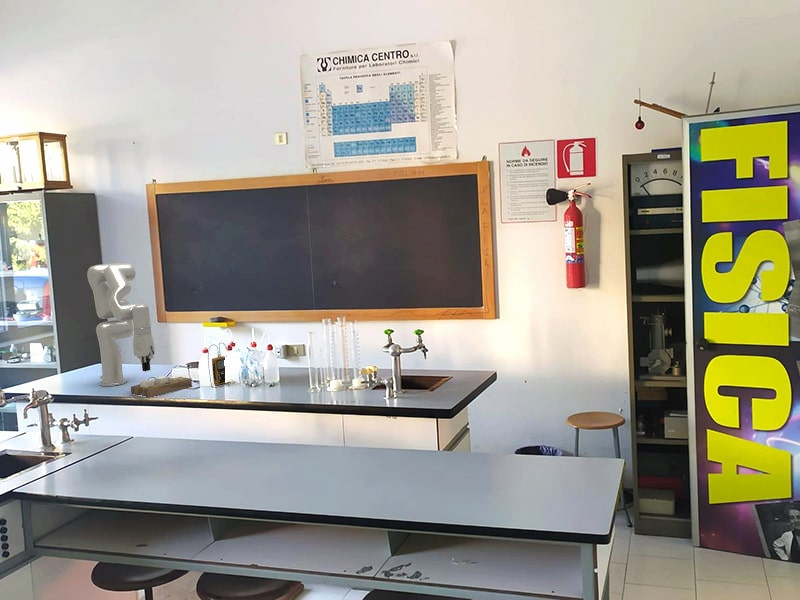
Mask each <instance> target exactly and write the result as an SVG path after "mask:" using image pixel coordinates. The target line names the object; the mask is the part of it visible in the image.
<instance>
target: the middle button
mask: <svg viewBox="0 0 800 600" xmlns="http://www.w3.org/2000/svg"><path fill="white" fill-rule="evenodd" d="M168 377H169V376H163V375H161V376H157V377H154V378H153V380H154V381H155V383H157V384H163V383H166V382H168Z"/></svg>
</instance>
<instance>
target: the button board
mask: <svg viewBox="0 0 800 600" xmlns="http://www.w3.org/2000/svg"><path fill="white" fill-rule="evenodd" d="M172 376H173V375H171V376H170V377H172ZM192 387H193V382H192V378H190V377H183V376H182V379H178V380H169V379H168V382H166V383H163V384H157V383H155V381H154V386H151V387H147V388H145V387H140V383H139V384H136V385H135V384H134V385H132V386H130V394H135V395H142V396H146V397H145V398H148V397H152V398H155V397H154V396H156V397H159V396H163V395H166V393H167V394H170V393H174V392H177V390H178V391H181V390H185V389H188V388H192ZM184 388H185V389H184ZM180 389H181V390H180ZM173 391H174V392H173ZM169 392H170V393H169ZM162 394H163V395H162ZM135 395H134V396H135ZM158 395H159V396H158Z"/></svg>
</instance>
